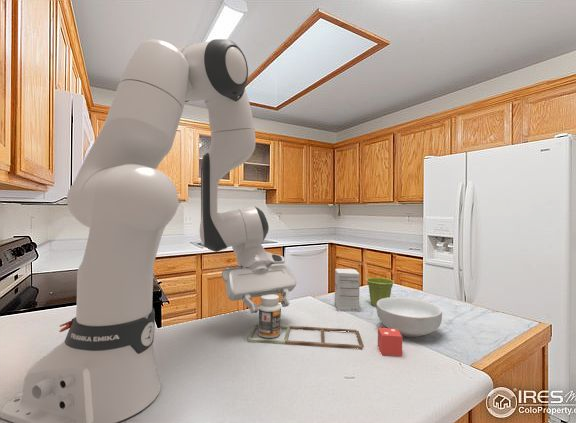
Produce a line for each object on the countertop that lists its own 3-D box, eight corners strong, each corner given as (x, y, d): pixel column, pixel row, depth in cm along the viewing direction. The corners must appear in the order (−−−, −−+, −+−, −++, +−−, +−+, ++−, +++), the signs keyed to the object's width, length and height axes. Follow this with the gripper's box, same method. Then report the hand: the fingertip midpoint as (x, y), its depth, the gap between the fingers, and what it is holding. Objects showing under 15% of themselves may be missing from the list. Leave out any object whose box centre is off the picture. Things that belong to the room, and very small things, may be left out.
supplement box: (334, 304, 102) (334, 268, 102) (355, 304, 102) (355, 268, 102) (336, 311, 95) (337, 272, 95) (359, 311, 94) (360, 273, 94)
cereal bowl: (378, 316, 91) (378, 293, 91) (437, 324, 85) (437, 300, 85) (373, 338, 75) (374, 310, 75) (446, 350, 69) (446, 320, 69)
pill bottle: (277, 340, 72) (278, 300, 72) (255, 337, 73) (256, 298, 73) (282, 331, 78) (283, 294, 78) (262, 329, 79) (262, 292, 79)
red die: (381, 355, 66) (382, 334, 66) (377, 346, 70) (377, 327, 70) (402, 356, 65) (402, 336, 65) (396, 347, 70) (397, 328, 70)
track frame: (246, 341, 71) (246, 339, 71) (255, 325, 81) (255, 323, 81) (364, 349, 68) (364, 346, 68) (358, 332, 78) (358, 329, 78)
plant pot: (360, 304, 102) (361, 279, 102) (374, 299, 109) (375, 276, 109) (385, 311, 95) (385, 285, 95) (398, 305, 102) (399, 280, 102)
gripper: (223, 261, 76) (238, 309, 67) (288, 255, 87) (307, 296, 79) (216, 274, 79) (230, 322, 71) (279, 268, 91) (297, 308, 83)
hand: (271, 308), depth 75 cm, fingers open, 8 cm apart
